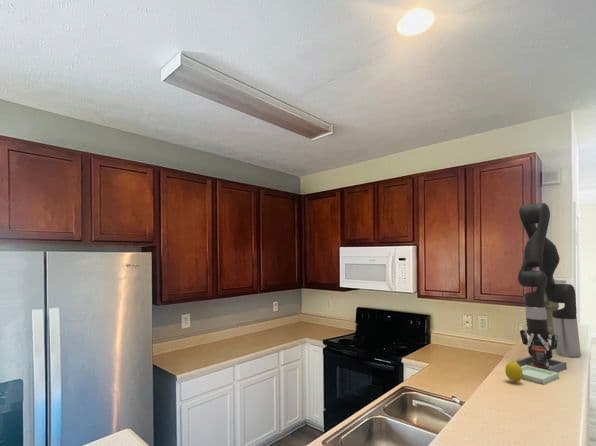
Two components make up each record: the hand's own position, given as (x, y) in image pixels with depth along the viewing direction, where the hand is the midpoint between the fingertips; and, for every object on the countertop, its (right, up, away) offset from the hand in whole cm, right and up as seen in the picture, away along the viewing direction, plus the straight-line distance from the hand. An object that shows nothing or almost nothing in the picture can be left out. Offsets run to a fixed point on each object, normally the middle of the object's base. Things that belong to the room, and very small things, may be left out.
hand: (540, 357), depth 146 cm
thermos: (+39, -8, +46) cm, 61 cm away
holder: (0, -4, 0) cm, 4 cm away
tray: (-10, -4, -11) cm, 15 cm away
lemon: (-21, -4, -16) cm, 27 cm away
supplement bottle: (0, -4, 0) cm, 4 cm away
